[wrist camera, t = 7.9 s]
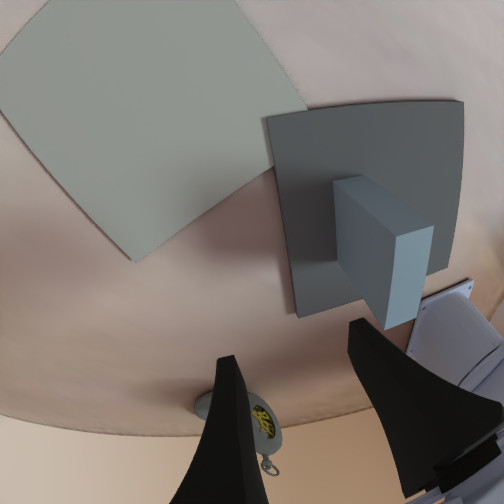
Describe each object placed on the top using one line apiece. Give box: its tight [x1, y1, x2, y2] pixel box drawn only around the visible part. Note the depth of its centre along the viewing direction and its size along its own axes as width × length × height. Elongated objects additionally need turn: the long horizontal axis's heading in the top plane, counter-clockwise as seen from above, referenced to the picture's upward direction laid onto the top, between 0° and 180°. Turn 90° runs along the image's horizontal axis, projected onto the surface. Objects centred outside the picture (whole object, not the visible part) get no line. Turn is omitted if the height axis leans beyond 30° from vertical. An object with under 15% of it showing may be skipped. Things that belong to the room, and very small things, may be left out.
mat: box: [266, 100, 464, 318], centre depth 20 cm, size 15×15×1 cm
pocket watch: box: [194, 392, 282, 476], centre depth 25 cm, size 8×8×10 cm
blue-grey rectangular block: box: [333, 175, 434, 330], centre depth 16 cm, size 6×2×7 cm, turn 11°
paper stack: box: [0, 0, 309, 263], centre depth 12 cm, size 23×25×1 cm
